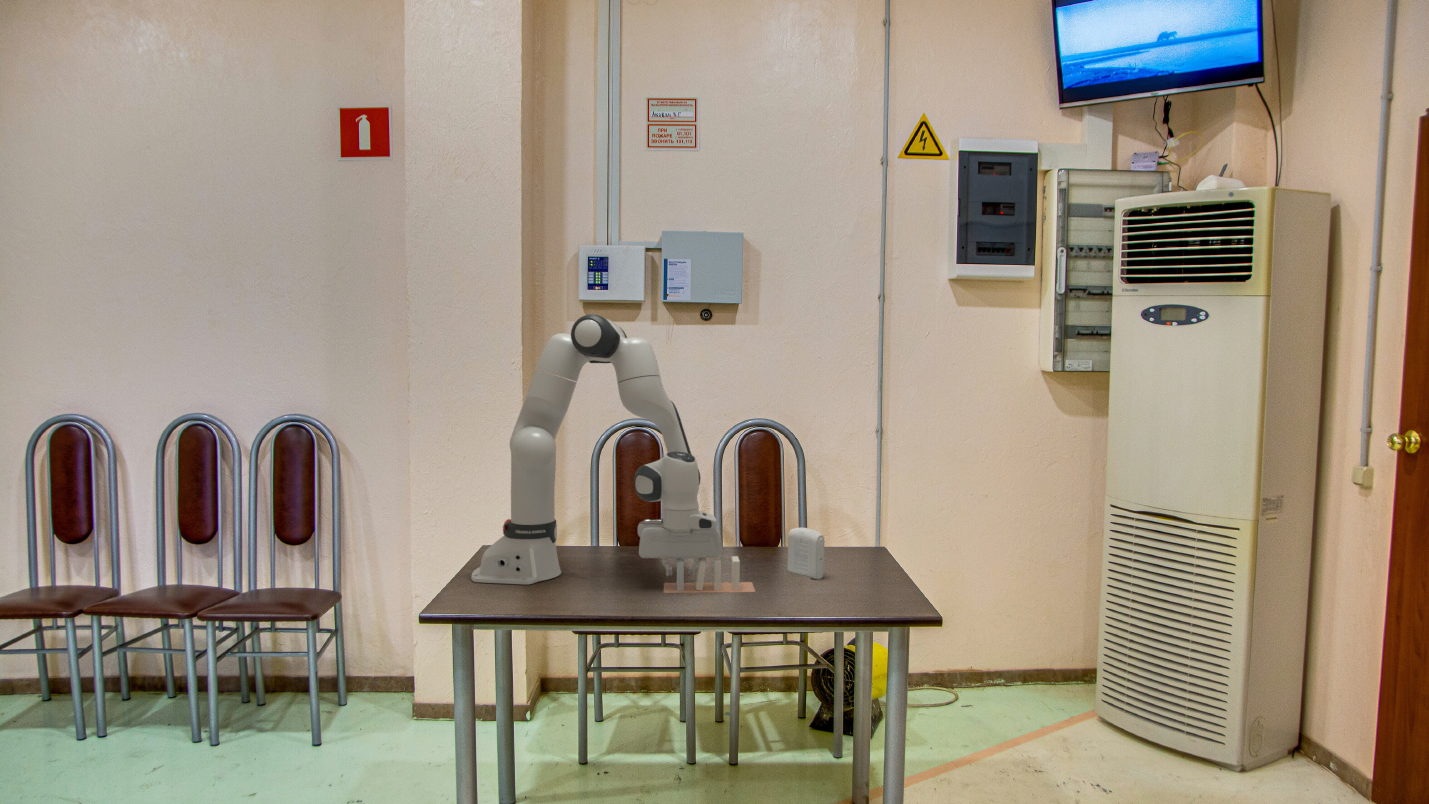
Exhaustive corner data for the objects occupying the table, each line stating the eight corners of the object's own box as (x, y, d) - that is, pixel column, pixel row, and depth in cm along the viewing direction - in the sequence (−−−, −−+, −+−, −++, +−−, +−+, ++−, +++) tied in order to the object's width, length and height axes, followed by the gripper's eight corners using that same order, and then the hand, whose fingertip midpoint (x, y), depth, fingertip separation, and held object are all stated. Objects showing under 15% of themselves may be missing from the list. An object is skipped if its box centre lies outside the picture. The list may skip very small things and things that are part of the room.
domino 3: (714, 590, 189) (714, 561, 189) (713, 584, 194) (713, 556, 194) (721, 590, 190) (721, 561, 189) (719, 584, 194) (719, 556, 194)
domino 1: (676, 590, 189) (677, 561, 189) (676, 584, 194) (676, 556, 194) (683, 590, 189) (683, 561, 189) (683, 584, 194) (683, 556, 194)
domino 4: (732, 590, 190) (733, 561, 189) (731, 584, 195) (731, 556, 194) (739, 590, 190) (739, 561, 189) (737, 584, 195) (737, 556, 194)
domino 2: (695, 589, 189) (700, 561, 189) (695, 583, 194) (699, 556, 194) (702, 590, 189) (706, 562, 189) (701, 584, 194) (705, 556, 194)
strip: (663, 595, 187) (663, 592, 187) (663, 585, 195) (664, 583, 195) (755, 594, 189) (755, 591, 189) (751, 584, 197) (751, 582, 196)
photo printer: (826, 577, 203) (827, 530, 203) (816, 580, 200) (817, 532, 200) (794, 569, 210) (795, 524, 210) (784, 572, 207) (785, 526, 207)
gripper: (637, 522, 187) (637, 579, 187) (722, 521, 188) (722, 578, 189) (638, 516, 193) (638, 572, 194) (720, 516, 194) (720, 571, 195)
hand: (680, 575), depth 191 cm, fingers open, 4 cm apart
